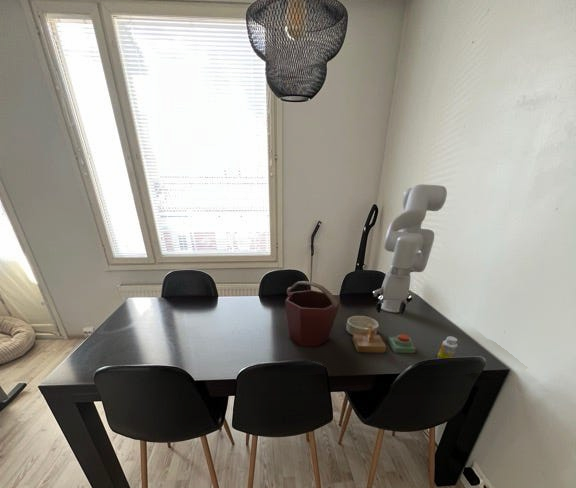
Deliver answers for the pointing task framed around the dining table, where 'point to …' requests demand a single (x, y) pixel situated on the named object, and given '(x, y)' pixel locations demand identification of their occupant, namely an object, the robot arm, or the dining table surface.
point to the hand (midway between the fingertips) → (389, 311)
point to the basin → (360, 324)
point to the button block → (401, 345)
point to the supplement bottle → (448, 348)
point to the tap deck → (368, 344)
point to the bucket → (310, 314)
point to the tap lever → (369, 333)
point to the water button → (403, 338)
